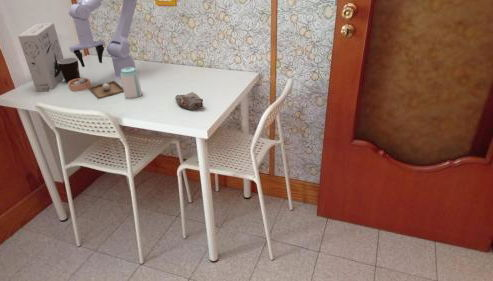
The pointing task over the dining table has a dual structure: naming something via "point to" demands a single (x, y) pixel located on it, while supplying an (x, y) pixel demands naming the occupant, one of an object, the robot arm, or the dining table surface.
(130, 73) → the can
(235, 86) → the dining table surface
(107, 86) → the white ball
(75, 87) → the bowl
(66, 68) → the coffee mug
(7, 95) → the dining table surface
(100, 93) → the tray
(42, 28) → the cereal box
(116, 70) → the robot arm
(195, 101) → the mineral rock
